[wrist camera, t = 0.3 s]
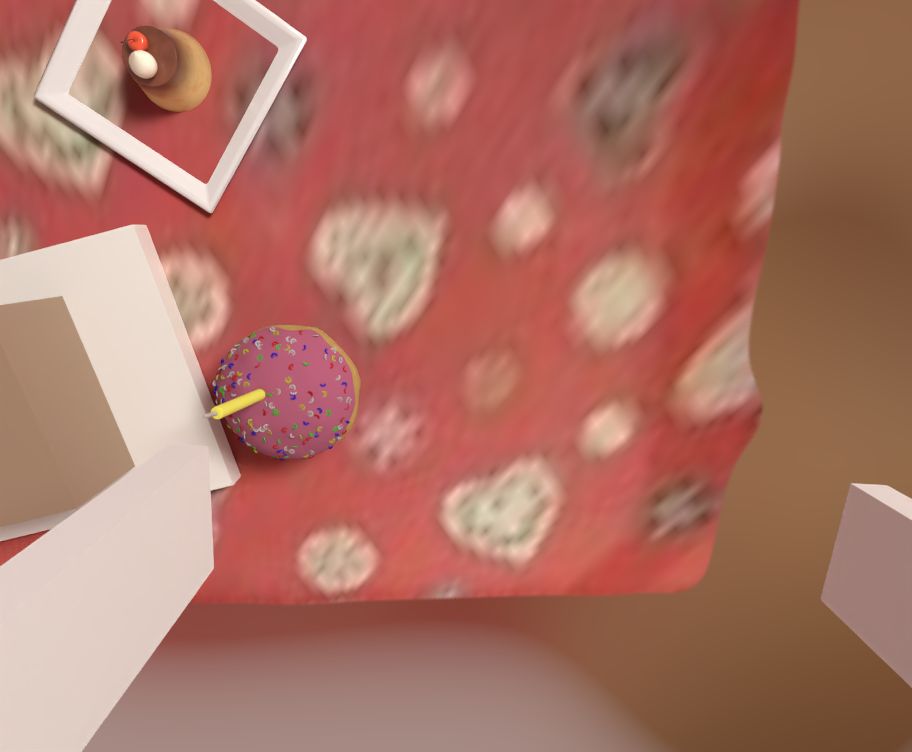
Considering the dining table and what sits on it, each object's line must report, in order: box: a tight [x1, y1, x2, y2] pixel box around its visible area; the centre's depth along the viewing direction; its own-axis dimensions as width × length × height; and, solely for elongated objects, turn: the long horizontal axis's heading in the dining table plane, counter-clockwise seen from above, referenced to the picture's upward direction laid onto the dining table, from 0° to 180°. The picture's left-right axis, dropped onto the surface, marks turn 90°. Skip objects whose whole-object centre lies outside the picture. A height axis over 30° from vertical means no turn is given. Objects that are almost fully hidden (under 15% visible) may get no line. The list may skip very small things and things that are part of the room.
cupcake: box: [203, 325, 361, 460], centre depth 32 cm, size 9×8×12 cm
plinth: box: [0, 224, 241, 541], centre depth 34 cm, size 18×22×8 cm
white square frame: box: [34, 0, 307, 213], centre depth 31 cm, size 12×12×5 cm
